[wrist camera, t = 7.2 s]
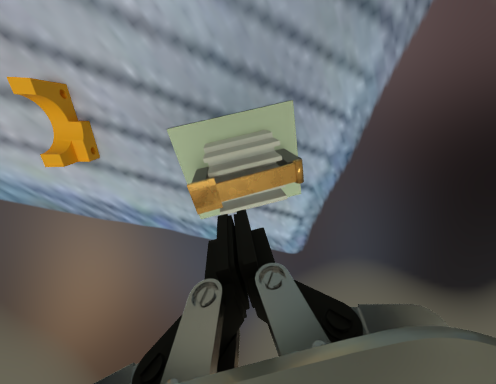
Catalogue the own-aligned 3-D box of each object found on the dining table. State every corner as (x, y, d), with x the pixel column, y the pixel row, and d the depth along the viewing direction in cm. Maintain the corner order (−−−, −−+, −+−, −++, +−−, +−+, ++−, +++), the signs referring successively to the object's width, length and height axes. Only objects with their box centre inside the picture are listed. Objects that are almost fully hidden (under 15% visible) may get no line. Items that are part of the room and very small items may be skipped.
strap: (299, 154, 29) (303, 156, 27) (301, 182, 31) (305, 186, 29) (187, 183, 27) (186, 186, 26) (198, 211, 29) (197, 215, 28)
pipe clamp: (100, 157, 35) (76, 166, 29) (75, 157, 34) (45, 166, 28) (79, 85, 30) (45, 78, 24) (49, 83, 29) (6, 76, 23)
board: (290, 100, 35) (316, 97, 26) (299, 191, 44) (320, 213, 34) (168, 128, 34) (148, 135, 25) (201, 216, 43) (196, 246, 33)
